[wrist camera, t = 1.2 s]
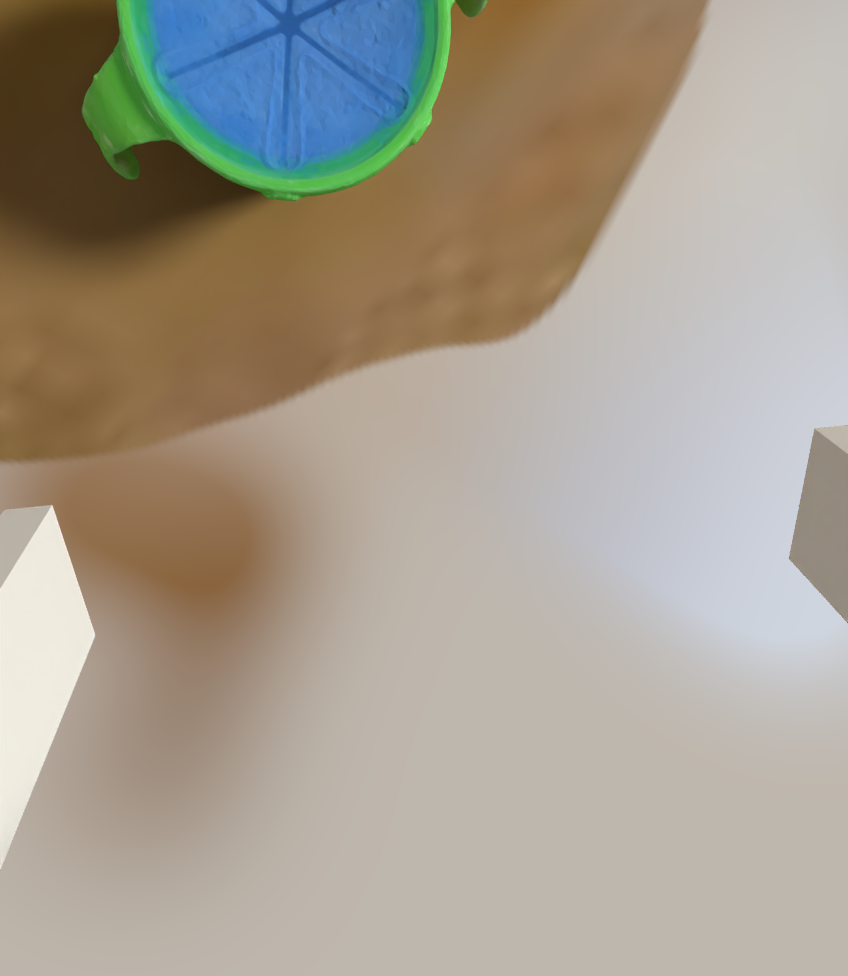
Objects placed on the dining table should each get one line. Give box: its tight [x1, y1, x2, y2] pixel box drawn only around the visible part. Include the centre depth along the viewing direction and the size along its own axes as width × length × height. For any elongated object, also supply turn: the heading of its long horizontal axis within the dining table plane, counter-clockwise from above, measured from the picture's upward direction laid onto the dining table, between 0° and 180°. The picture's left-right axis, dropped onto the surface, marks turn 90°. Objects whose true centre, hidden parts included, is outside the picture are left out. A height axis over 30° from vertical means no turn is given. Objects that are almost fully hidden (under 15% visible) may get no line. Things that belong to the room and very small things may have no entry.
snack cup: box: [82, 0, 487, 201], centre depth 30 cm, size 16×10×10 cm
